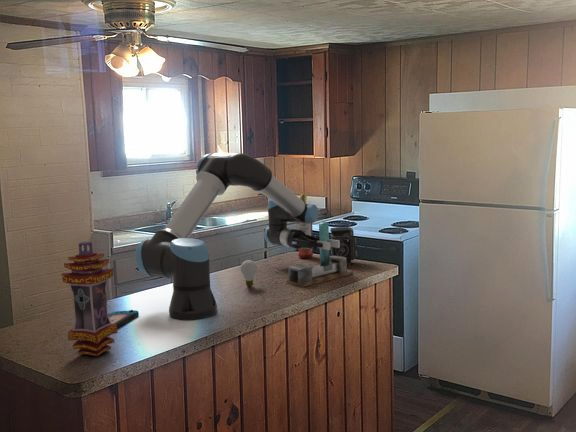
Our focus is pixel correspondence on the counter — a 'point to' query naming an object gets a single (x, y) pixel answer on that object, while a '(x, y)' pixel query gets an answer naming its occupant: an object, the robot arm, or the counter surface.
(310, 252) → the liquor
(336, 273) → the bench
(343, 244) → the camera
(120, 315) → the gaming console
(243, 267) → the light bulb
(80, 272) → the lantern
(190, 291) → the robot arm
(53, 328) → the counter surface
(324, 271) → the tube
